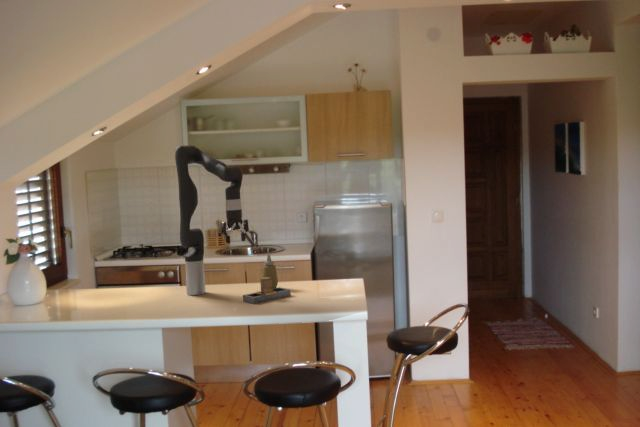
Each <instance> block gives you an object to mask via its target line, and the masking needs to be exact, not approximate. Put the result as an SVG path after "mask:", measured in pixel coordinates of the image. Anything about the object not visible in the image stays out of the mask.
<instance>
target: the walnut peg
mask: <svg viewBox="0 0 640 427" xmlns="http://www.w3.org/2000/svg"><path fill="white" fill-rule="evenodd" d="M259 279H260V280H259V282H260V283H259V284H260V291H261V293H262V294H267V293H272V292H273V290H272V278H269V277H265V278H263V277H262V278H259Z"/></svg>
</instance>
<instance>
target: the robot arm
mask: <svg viewBox="0 0 640 427" xmlns="http://www.w3.org/2000/svg"><path fill="white" fill-rule="evenodd" d="M174 159H175V166H176V172H177V182H178V201H179V216H180V217H179V219H180V220H179V224H180V225H179V240H180V245H181V246H182V248H184V249H189V248H192V249H191V250H190V251H189V252H188V253H185V255H184V263H185V284H186V285H185V287H186V294H187V295H188V296H199V295H204V294H206V293H207V292H206V279H205V278H206V277H205V266H204V265H205V263H204V256H205V240H204V239H205V237H204V233H203V231H202V229H201V228H197V227H196V228H191V220H192V217H193V216H194V213H195V211H196V209H197V207H198V204H199V195H198V190H197V189H198V188H197V187H196V185H195V183H194V181H193V180H192V177H191V176H190V172H189V165H191V164H198V165H201V166H203V169H204V170H206V172H209V174H210V173H211V174H212V175H214V176H216V177H217V178H218V179H220V180H222V181H223V182H224V183H225V182H226V183H230V185H229V186H228V187H226V188H225V191H224V192H225V215H226V216H225V217H226V222H225V221H224V222H223V221H222V222H221V223H220V227H221V228H220V234H221V235H223V236H224V238H225V243H226V244H231V236H230V235H231V233H232V232H233V231H236V230H237V231H240V239H241V242H246V240H247V238H246V236H247V235H246V233H247V232H249V231H250V229H249V220H248V219H247V218H246V219H245V218H243V208H242V200H241V199H242V198H241V186H242V181H243V171H242V168H241V167H239V166H227V164H226V163H224V162H223V161H222V160H221V161H220V160H218V159H216V158H214V157H212V156H210V155H208V154H207V153H205V152H204V151H202V150H201V149H200V148H198V147H196V146H195V145H192V144H191V145H189V144H188V145H179V146H177V147H176V149H175V152H174ZM242 218H243V219H242Z"/></svg>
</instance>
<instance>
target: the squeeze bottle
mask: <svg viewBox="0 0 640 427" xmlns="http://www.w3.org/2000/svg"><path fill="white" fill-rule="evenodd" d="M266 256H267V257H266V261H264V265H263V267H262V278H265V277H269V278H272V289H274V288H278V287H277V286H278V284H279V281H278V274H277V267H276V265H274V261H273V260H272V258H271V255H270V254H269V253H268V254H267V255H266Z"/></svg>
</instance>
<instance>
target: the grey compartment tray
mask: <svg viewBox="0 0 640 427" xmlns="http://www.w3.org/2000/svg"><path fill="white" fill-rule="evenodd" d="M272 290H273V292H272V293H267V294H262V293H261V290H260V291H256V292H252V293H247V294H242V302H243V303H248V304H252V305H257V304H261V303H265V302H270V301H274V300H279V299H282V298H287V297H291V296H292V294H291V291H292V290H291V289H289V288H284V287H276V288H274V289H272Z"/></svg>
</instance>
